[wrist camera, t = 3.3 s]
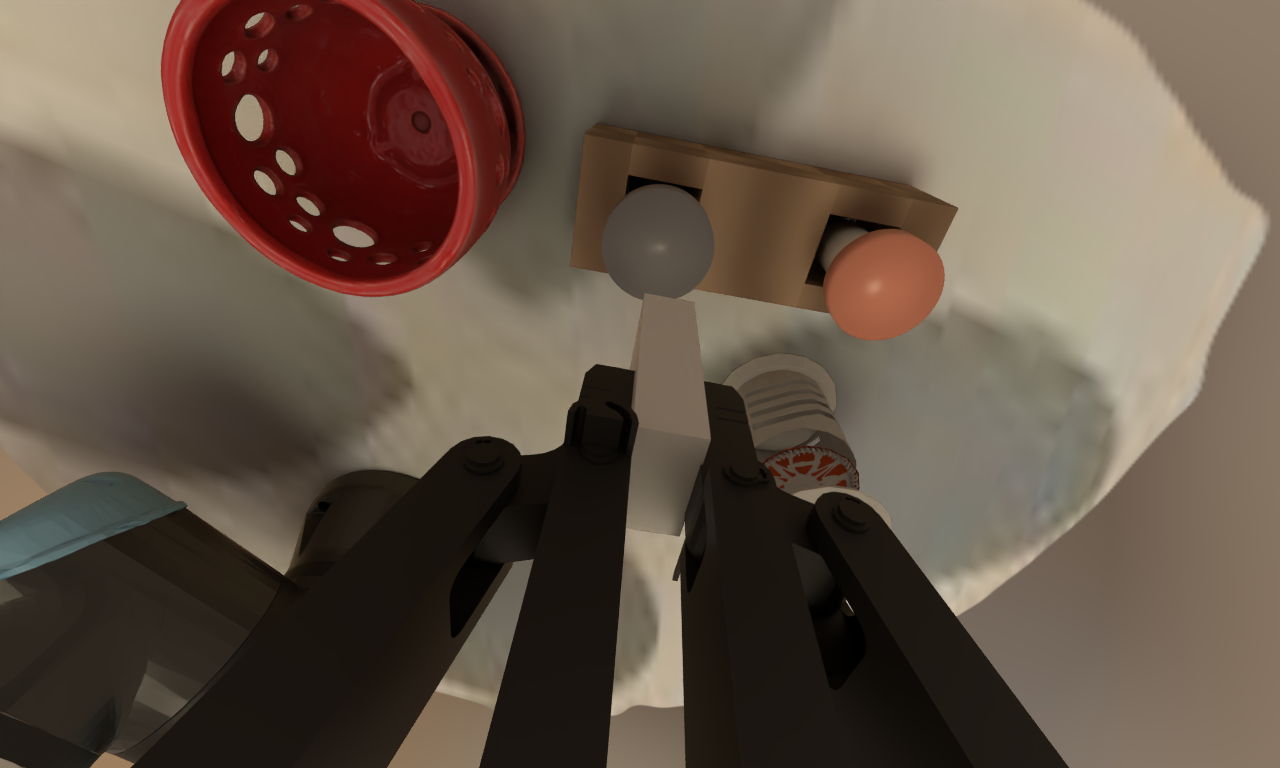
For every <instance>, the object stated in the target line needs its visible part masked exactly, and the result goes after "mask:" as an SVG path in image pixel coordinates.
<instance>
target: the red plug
mask: <svg viewBox="0 0 1280 768" xmlns="http://www.w3.org/2000/svg"><path fill="white" fill-rule="evenodd" d="M815 257H816V259H817V261H818V263H819V264H820V265H821V266H822V267H823V269H824V270H825V271H826V275H825V278H824V283H823V299H824V302H825V305H826V308H827V310H828V311H829V313H830V314H831V316H832V317H833V319H834V320H835V322H836V323H837V324H838V326H839V327H840V328H841V329H842V330H844V331H845V332H846V333H848V334H850V335H851V336H854V337H856V338H860V339H864V340H884V339H889V338H893V337H895V336H898V335H901V334H903V333H905V332H907V331H909V330H910V329H912V328H914V327H915V326H916V325H918V324H919V323H920V322H921V321H923V320H924V319H925V318H926V317H927V316H928V315H929V313H930V312H931V311H932V310H933V308H934V307H935V305H936V304H937V302H938V300H939V298H940V296H941V293H942V290H943V286H944V275H945V274H944V267H943V263H942V260H941V259H940V257H939V255H938V253H937V252H936V251H935V250H934V249H933V248H932V247H931V246H930V245H929V244H927V243H926V242H924V241H923V240H921V239H919V238H918V237H916V236H915V235H913V234H911V233H909V232H907V231H903V230H898V229H882V230H876V231H873V232H868V231H867V230H865V229H864V228H863V227H862V226H860V225H859V224H857V223H856V222H853V221H849V220H842V221H837V222H835V223H832V224H831V225H829V226H827V227H826V228H825V229H824V232H823V234H822V237H821V240H820V243H819V245H818V248H817V251H816V254H815Z"/></svg>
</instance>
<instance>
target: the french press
mask: <svg viewBox="0 0 1280 768" xmlns="http://www.w3.org/2000/svg"><path fill="white" fill-rule="evenodd" d="M722 385H727V386H733V387H734V389H735V390H736V391H737V392H738V393H739V395H740V396H741V397H742V398H743V400H744V404H745V409H746V414H747V417H748V421H749V424H748V425H749V426H750V430H751V434H752V439H753V443H754V447H755V451H756V456H757V460H758V461H760V462H761V463H763V464H764V465H765V466H766V467H767V468H768V469H769V470H770V471H771V473H772V475H773V477H774V479H775V481H776V485H777V487H778V488H780V489H781V490H783V491H785V492H787V493H789V494H791V495H793V496H796V497H798V498H801V499H803V500H806V501H808V502H811V503H813V504H815V502H816V500H817V499H818V498H819V497H820V496H821V495H822V494H823V493H828V492H833V491H834V492H841V493H847V494H849V495H852V496H854V497H857V498H859V499H861V500H862V501H864V502H865V503H867V504H868V505H870V506H871V507H872V508H873V509H874V510H875V511H876V512H877V513H878V514H879V515H880V516H881V517H882V519H883V520H884V521H885V523H886V524H887V525H888V527H889V528H890V529H891V518H890V517H889V515H888V514H887V512H886V511H885V509H884V508H883V506H882V505H881V503H880V502H878V501H877V500H875V499H873V498H871V497H869V496H867V495H866V494H864V493H862V492H860V491H858V490H859V473H858V471H857V470H856V460H855V458H854V455H853V453H852V450H851V448H850V446H849V444H848V442H847V440H846V438H845V436H844V433H843V431H842V429H841V427H840V425H839V423H838V421H837V419H836V417H835V415H834V413H833V412H834V409H835V407H836V405H837V404H836V390H835V384H834V382H833V381H832V379H831V378H830V376H829V375H828V373H827V372H826V370H825V369H824V368H823V367H822V366H820V365H818V364H817V363H815V362H813V361H811V360H810V359H808V358H806V357H804V356H798V355H791V354H783V353H777V354H772V355H767V356H762V357H758V358H754V359H752V360H750V361H749V362H747V363H745V364H744V365H742V366H740V367H739V368H737V369H735V370H734V371H732V373H731V374H730V375H729V376H728V378H727V379H726V380H725V381H724V383H723V384H722ZM817 437H819V438H820V441H819V442H818V443H817V444H816V445H814V446H807V445H808V444H810V443H811V442H812V441H813V440H815V439H816V438H817ZM822 447H823V448H822Z"/></svg>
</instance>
